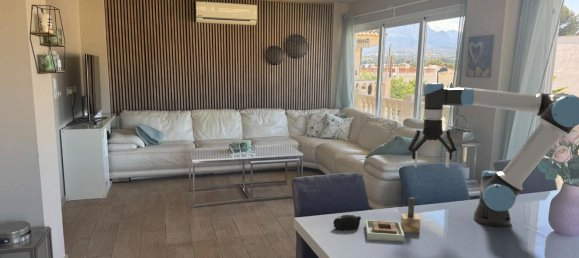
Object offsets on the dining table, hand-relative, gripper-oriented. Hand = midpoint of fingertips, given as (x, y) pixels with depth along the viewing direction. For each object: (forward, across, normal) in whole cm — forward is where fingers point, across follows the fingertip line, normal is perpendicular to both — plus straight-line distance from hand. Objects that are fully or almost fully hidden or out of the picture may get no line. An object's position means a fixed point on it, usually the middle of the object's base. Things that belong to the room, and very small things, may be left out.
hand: (431, 166), depth 183 cm
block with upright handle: (+25, +10, +10) cm, 29 cm away
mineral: (+25, +38, +10) cm, 46 cm away
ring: (+24, +22, +17) cm, 37 cm away
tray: (+25, +22, +16) cm, 37 cm away
